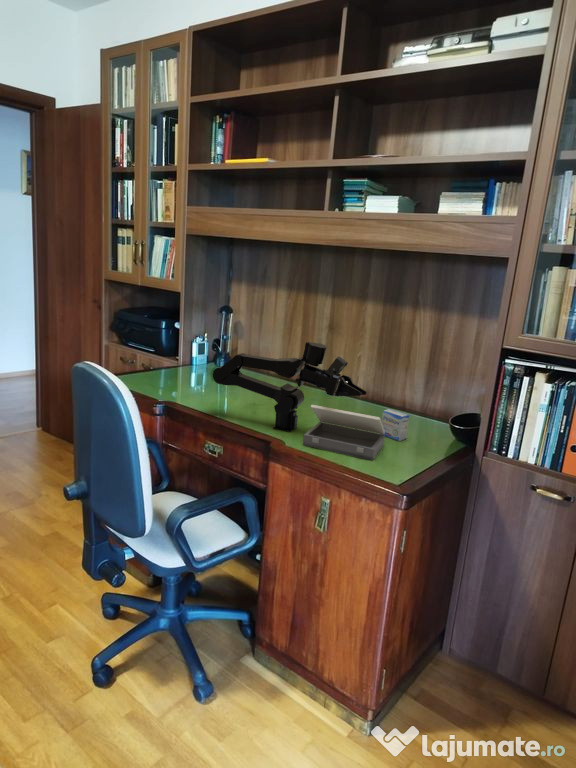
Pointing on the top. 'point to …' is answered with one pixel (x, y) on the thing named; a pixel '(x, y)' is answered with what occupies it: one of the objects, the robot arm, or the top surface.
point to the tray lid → (349, 419)
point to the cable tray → (344, 440)
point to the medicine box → (395, 424)
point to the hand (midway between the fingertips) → (363, 393)
